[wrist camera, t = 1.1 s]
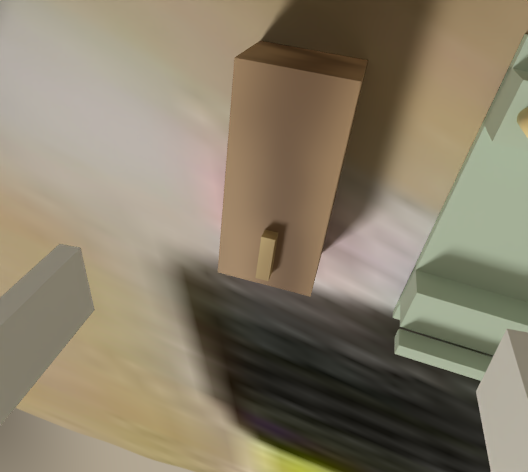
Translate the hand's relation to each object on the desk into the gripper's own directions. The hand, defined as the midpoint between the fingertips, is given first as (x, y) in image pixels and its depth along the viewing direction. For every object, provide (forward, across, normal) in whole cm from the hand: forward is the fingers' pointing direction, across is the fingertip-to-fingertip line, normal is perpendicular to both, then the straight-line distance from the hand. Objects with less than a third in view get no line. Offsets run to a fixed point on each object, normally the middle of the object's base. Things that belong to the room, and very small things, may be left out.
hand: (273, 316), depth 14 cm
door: (+16, -2, -2) cm, 16 cm away
